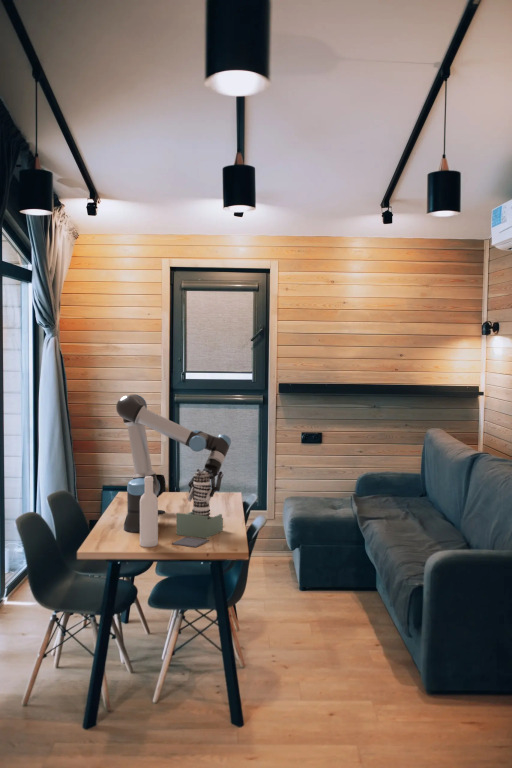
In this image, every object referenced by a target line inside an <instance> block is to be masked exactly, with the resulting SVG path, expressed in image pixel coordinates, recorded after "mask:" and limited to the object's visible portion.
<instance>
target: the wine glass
mask: <svg viewBox="0 0 512 768" xmlns="http://www.w3.org/2000/svg"><path fill="white" fill-rule="evenodd" d="M156 478H157V480H158V481H159V484H160V490H159V493H158V495H157V499H158V498H159V497H160V496H162V494H163V493H164V492H165V489H166V484H167V483H166V478H165V475H164V474H159V473H157V474H156ZM164 514H166V511H165V510H164V509H163V510H162V509H158V516H160V515H164Z"/></svg>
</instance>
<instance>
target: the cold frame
mask: <svg viewBox="0 0 512 768" xmlns="http://www.w3.org/2000/svg"><path fill="white" fill-rule="evenodd" d="M192 513H193V511H192V510H191V511H190V512H186V513H182V512H177V513H176V528H175V529H176V535H177V536H183V537H193V538H201V539H209V538H211V537H212V536H215V535H217V534H218V533H221V532H223V531H224V526H223V524H224V518H223V514H222V513H221V514H217V515H215V516H210V519H208V516H201V515H192Z"/></svg>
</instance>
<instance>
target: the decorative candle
mask: <svg viewBox="0 0 512 768" xmlns="http://www.w3.org/2000/svg"><path fill="white" fill-rule="evenodd" d="M193 477H194V482H193V484H192V487H193V489H192V491H193V492H192V494H193V497H192V501H193V505H192V510H191V512H192V511H193V513H192V515H201V516H208V519H210V517H211V516H210V515H211V509H210V508H211V507H210V502H209V503H208V504H207V503H206V501H205V499H206V497H207V494H208V492H209V490H210V489H211V487H212V485H211V479H210V474H209V473H208V472H207V471H197V470H196V471H195V473H194V474H193Z"/></svg>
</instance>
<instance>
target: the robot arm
mask: <svg viewBox="0 0 512 768" xmlns="http://www.w3.org/2000/svg"><path fill="white" fill-rule="evenodd" d="M147 405H148V403H147V401H146V400H145V398H144V397H143V396H141V395H138V394H129V395H124V396H122V397H120V398H119V399H118V401H117V402H116V406H115V407H116V413H117V414H118V416H119V417H120V418H122V420H123V424H124V425H125V426H126V427H127V432H128V437H129V446H130V450H131V456H132V461H133V462H132V463H133V469H134V474H133V475H132V479H131V480H129V481H128V482H127V487H126V491H127V494H126V495H127V497H126V499H127V505H126V506H127V508H126V509H127V510H126V511H127V512H126V517H125V519H124V521H123V522H124V523H123V530H124V531H125V532H131V533H140V499H141V496H142V495H143V494H144V493H145V481H144V479H145V477H146V476H152V477H153V493H154V494H155V495H156V496H157V495H158V493H159V490H160V484H159V481H158V480H157V478H156V471H154V470H153V467H152V462H151V461H152V460H151V456H150V455H151V454H150V449H149V442H148V436H147V430H146V427H147V428H148V429H151V430H153V431H155V432H157V433H160V435H164V436H166V437H167V438H170V439H172V440H174V441H176V442H178V443H180V444H182V445H185V446H186V447H188V448H190V450H192V451H193V452H196V453H197V452H201V451H203V450H207V451H209V452H210V453H209V455H208V458H207V459H206V462H205V464H204V468H202V469H201V470H200V468H198V469H197V468H196V472H197V471H207V472H208V473H209V474H210V485H211V487H210V490H209V492H208V494H207V497H206V499H205V501H206V503H207V504H208V503H209V504H210V501H211V499H212V498H213V497H214V495H215V493H216V492H220V490H221V485H222V479H223V477H224V474H223V471H220V470H221V468H222V465H223V463H224V461H225V458H226V456H227V454H228V452H229V450H230V447H231V444H232V440H231V438H230V437H229V436H228V435H226V434H218V436H214V435H212V434H209V433H206V432H203V431H202V430H197V429H194V430H190V429H189V428H186V427H185V426H183V425H181V424H178V423H177V422H174V421H172V420H170V419H168V418H166V417H164V416H162V415H159V414H158V413H155V412H154V411H151V410H149V409H148V406H147ZM216 478H217V479H216ZM215 480H216V481H215ZM193 482H194V476H193V477H191V480H190V481H189V482H188V484H187V485H188V488H189V490H188V496H187V500H188V502H190V503H191V502H192V501H193V498H192V497H193V494H192V492H193V491H192V489H193V487H192V484H193Z"/></svg>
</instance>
